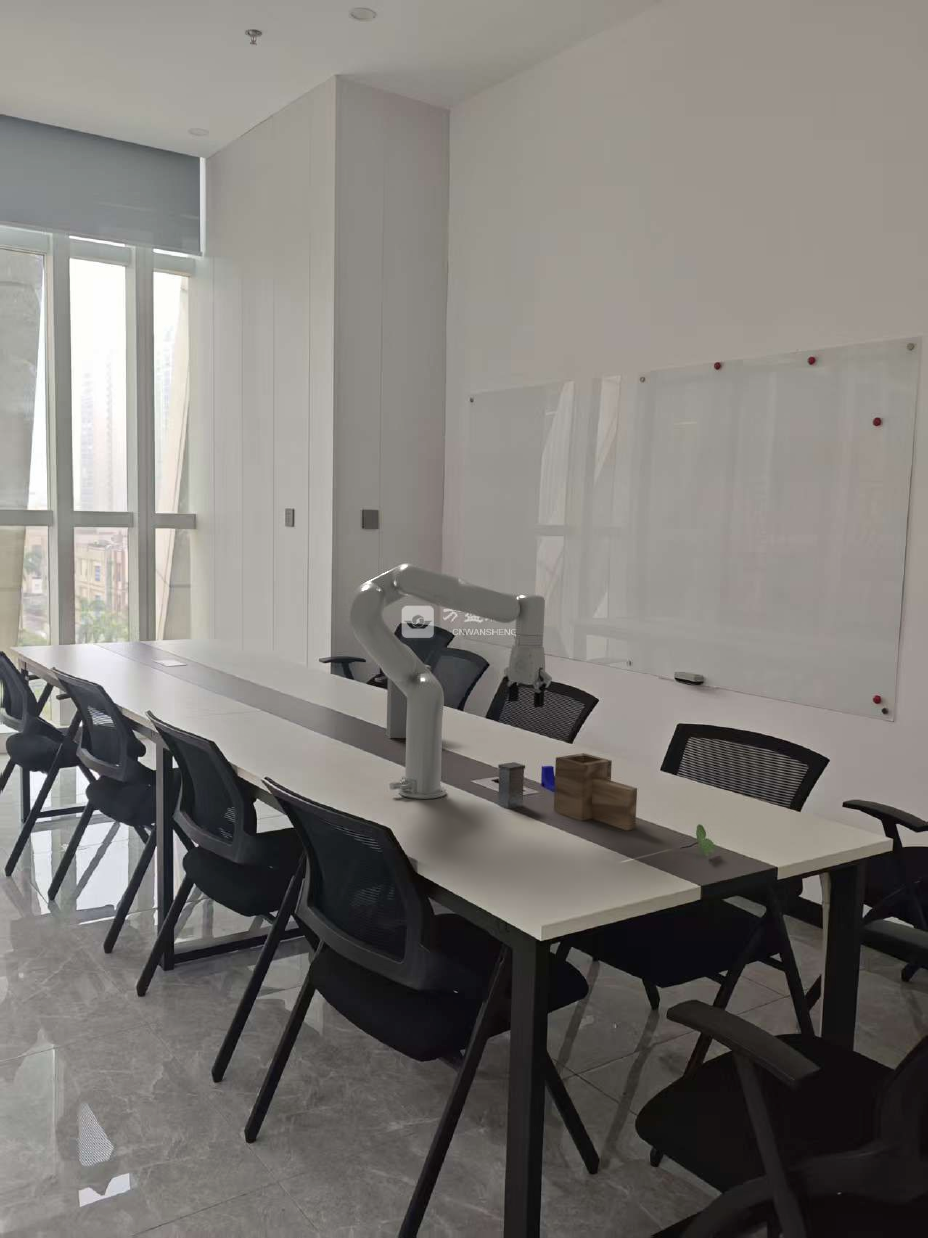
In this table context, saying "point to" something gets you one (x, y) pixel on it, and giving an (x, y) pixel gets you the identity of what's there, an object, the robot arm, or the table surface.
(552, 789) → the blue cradle block
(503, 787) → the upright grey metal pillar
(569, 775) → the brown stepped hollow block
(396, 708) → the tall grey block
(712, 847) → the seedling
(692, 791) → the table surface
